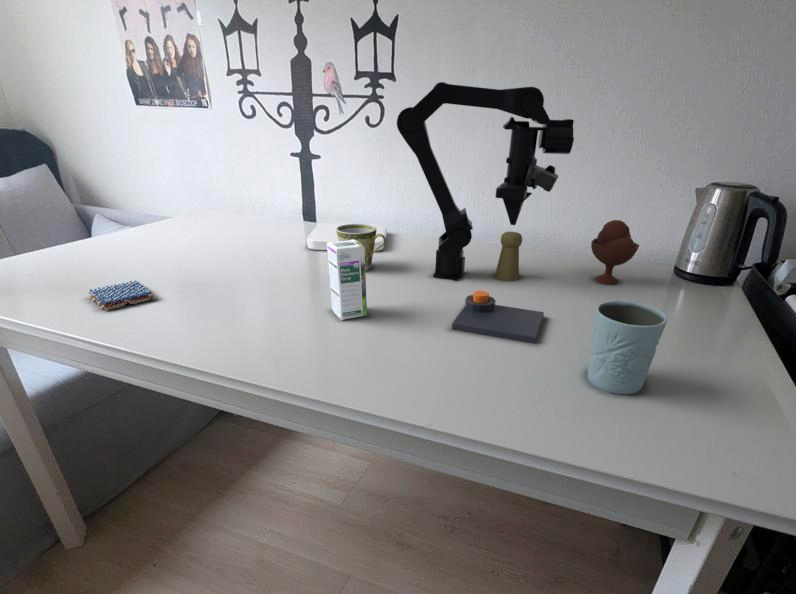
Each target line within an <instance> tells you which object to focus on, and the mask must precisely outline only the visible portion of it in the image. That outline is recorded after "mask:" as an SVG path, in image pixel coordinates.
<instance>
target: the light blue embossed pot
mask: <svg viewBox="0 0 796 594" xmlns="http://www.w3.org/2000/svg"><path fill="white" fill-rule="evenodd" d="M667 322H668V316H667V315H666V314H665V313H664V312H662V311H661V310H659V309H657V308H655V307H653V306H651V305H648V304H644V303H639V302H633V301H625V300H612V301H606V302H602V303H600V304H598V305H597V306H596V308H595V315H594V327H593V331H592V332H593V333H592V341H591V348H590V358H589V360H588V368H587V380H588V381H589V383H590V384H592V385H593V386H594V387H596V388H598V389H600V390H602V391H605V392H608V393H610V394H616V395H633V394H636V393H638V392H640V391H641V390H642V388H643V386H644V383H645V381H646V379H647V375H648V372H649V370H650V367H651V365H652V362H653V360H654V357H655V354H656V351H657V346H658V345H659V343H660V340H661V337H662V335H663V333H664V331H665V328H666V325H667Z"/></svg>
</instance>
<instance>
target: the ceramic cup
mask: <svg viewBox="0 0 796 594" xmlns="http://www.w3.org/2000/svg"><path fill="white" fill-rule="evenodd" d="M346 224H347V225H342V226H339V227H337V228H336V231H337V236H338V241H348V240H353V239H354V240H356V241H358V242H360V243H361V244H362V245H363V246H364V249H365V272H366V271H368V270H370V269H371V268H372V263H373V256H374V254H375V253H377V252H378V251H377V250H378V249H379V248H381V247H382V246H383V245H384V246H385V244H386V241H387V238H386V239H385V237H384V235H382V234H377V235H376V227H374V226H371V225H366V224H367V223H346ZM379 236H380V237H382V238H383V239H384V243H383V244H382V245H381V246H379V247H378V248H377V249H376V250H375V251H373V250H374V244H375V239H376V238H377V237H379Z"/></svg>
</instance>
